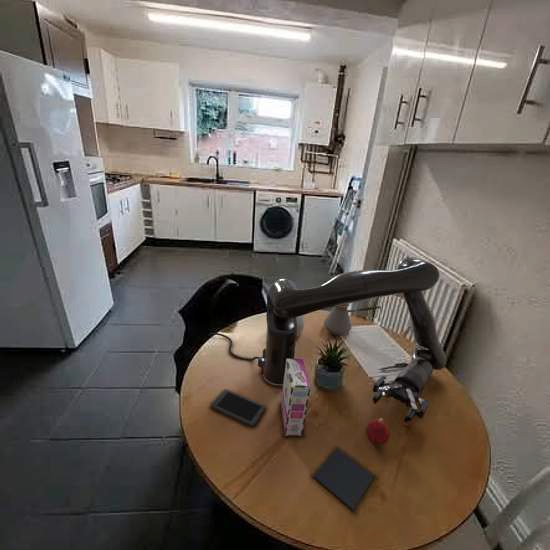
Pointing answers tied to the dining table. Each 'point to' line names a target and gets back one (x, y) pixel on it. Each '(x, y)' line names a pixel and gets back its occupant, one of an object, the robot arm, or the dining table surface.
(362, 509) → the dining table surface
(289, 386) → the candy bar box
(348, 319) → the coffee pot
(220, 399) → the cell phone
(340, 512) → the dining table surface
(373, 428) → the onion
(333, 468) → the front mat
